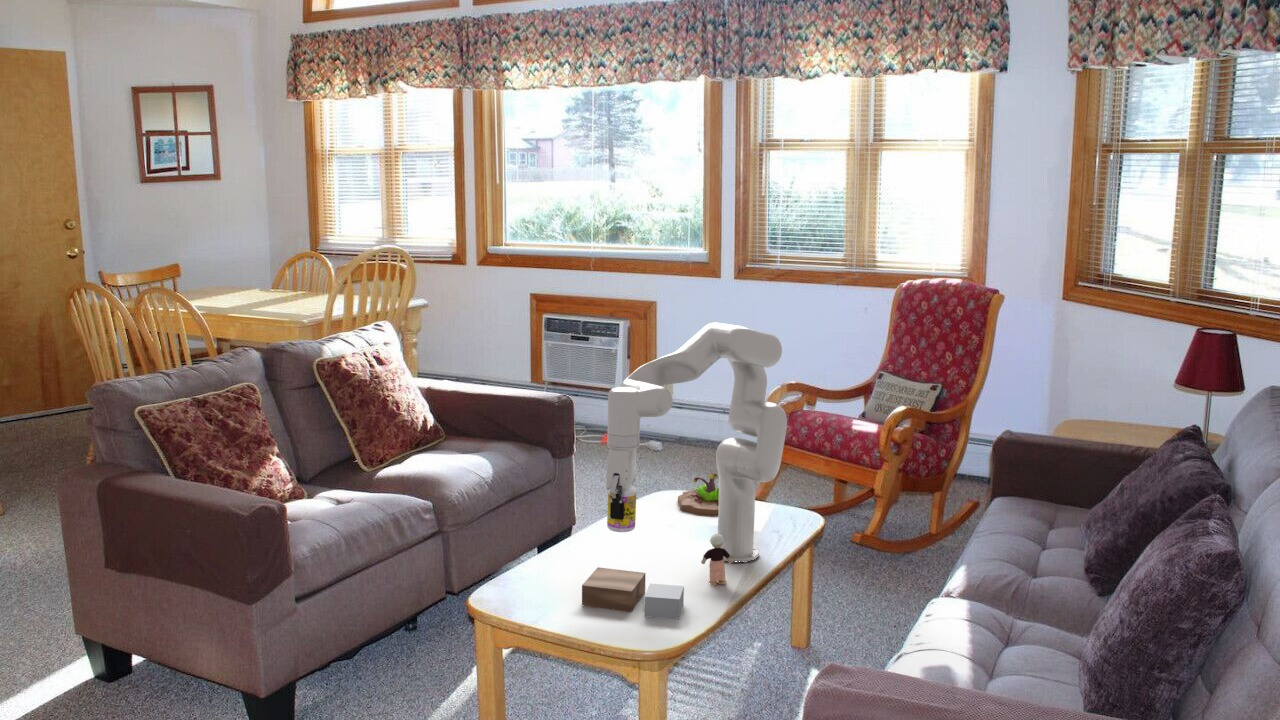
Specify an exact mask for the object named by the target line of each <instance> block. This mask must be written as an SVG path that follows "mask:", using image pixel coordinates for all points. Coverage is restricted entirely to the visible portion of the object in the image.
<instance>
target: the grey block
mask: <svg viewBox="0 0 1280 720" xmlns="http://www.w3.org/2000/svg"><path fill="white" fill-rule="evenodd" d="M684 591H685V585H676V584H663V583H649V585H648V588H647V590H646V591H645V594H644V610H643V612H644V615H643V616H644V617H647V618H659V619H672V620H680V618H681V615H682V612H683V608H684V603H685V602H684V601H685V600H684V599H685V598H684V597H685V595H684V594H685V592H684Z"/></svg>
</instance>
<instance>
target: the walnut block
mask: <svg viewBox="0 0 1280 720" xmlns="http://www.w3.org/2000/svg"><path fill="white" fill-rule="evenodd" d="M645 595H646V572H640V571H633V570H623V569H615V568H607V567H605V568H604V567H596V568H595V570H594V571H593V572H592V573H591V574H590V576H589V577H588V578H587V579H586V580H585V581H584V583H582V585H581V606H582V605H584V606H583V607H588V606H590V607H591V608H598V609H606V610H612V611H620V612H630V613H632V612H633V610H634V609H635V607H636V606H637V605H638V603H639V602H640V601H641V600H642V598H643V596H645ZM590 607H589V608H590Z"/></svg>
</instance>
